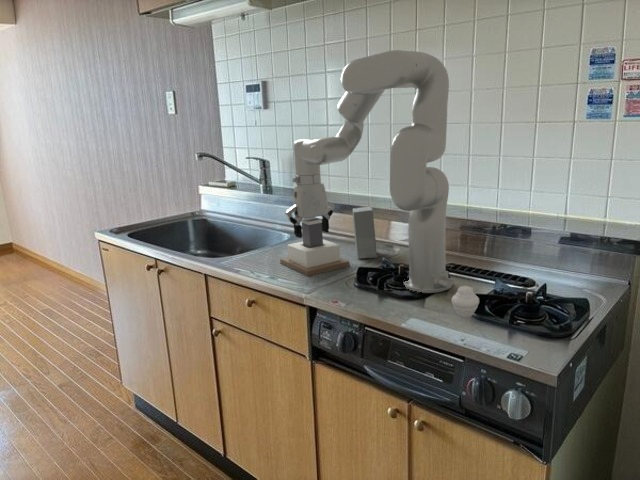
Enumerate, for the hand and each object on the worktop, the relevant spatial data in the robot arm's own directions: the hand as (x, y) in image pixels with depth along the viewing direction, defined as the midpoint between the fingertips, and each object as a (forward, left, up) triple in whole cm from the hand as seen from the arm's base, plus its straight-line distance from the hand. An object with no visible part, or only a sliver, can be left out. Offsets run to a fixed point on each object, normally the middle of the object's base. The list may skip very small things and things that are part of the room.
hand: (312, 234), depth 160 cm
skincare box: (-3, -18, -10) cm, 21 cm away
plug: (0, 0, -4) cm, 4 cm away
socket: (0, 0, -10) cm, 10 cm away
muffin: (-58, -6, -10) cm, 59 cm away
